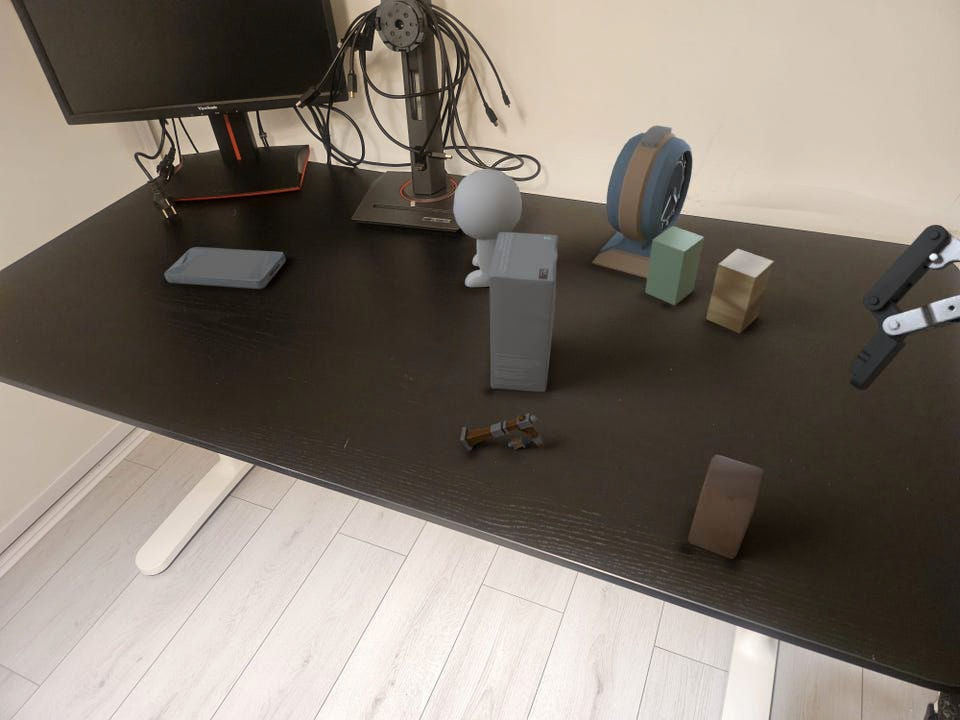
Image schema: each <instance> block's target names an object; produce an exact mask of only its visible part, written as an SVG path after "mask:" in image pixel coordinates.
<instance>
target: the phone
mask: <svg viewBox="0 0 960 720" xmlns="http://www.w3.org/2000/svg"><path fill="white" fill-rule="evenodd" d="M286 261H287V259H286V256H285V254H284V252H283V251H274V250H273V251H272V250H257V249H256V250H255V249H254V250H253V249H238V248H234V249H233V248H220V247H204V246H203V247H201V246H193V247H191V248H189V249H188V250H186V252H185V253H183V255H182V256H180V257H179V259H178V260H177V261H175V262H174V263H173V264H172V265H171V266H170V267H169V268H168V269H167V270H166V271H164V274H163V275H164V277H165V280H166V281H167V283H168V284H169V283H170V284H181V285H182V284H183V285H195V286H196V285H197V286H198V285H199V286H211V287H225V288H239V289H253V290H254V289H255V290H262V289H265V288H266V286H267V285H268V284H269V283H270V282H271V281H272V280H273V278H274V277H275V276H276V274H277V273H278V272H279V270H280V269H281V268H283V266H284V264H285V263H286Z"/></svg>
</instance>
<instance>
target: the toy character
mask: <svg viewBox="0 0 960 720" xmlns="http://www.w3.org/2000/svg"><path fill="white" fill-rule="evenodd" d="M521 195H522V194H521V191H520V187H519V186H518V184H517V183H516V181H515V180H514V179H513V178H512V177H511V176H510V175H508V174H506V173H505V172H503V171H501V170H497V169H492V168H484V169H478V170H477V169H476V170H474V171H473V172H471V173H469V174H468V175H466V176H464V177H463V179H462V180H460V182H459V184H458V186H457V187H456V189H455V191H454V198H453V209H452V212H453V215H454V219H455V222H456V224H457V225H458V227H459V228H460V229H461V231H462V232H463V233H464V234H465V235H467V236H468V237H470V238H472V239H476V254H474V256H473V258H472V265H473V266H475V267H479V269H477V270H474V271H471V272H470V273H469V274H467V276H466V277H465V280H464V285H465V286H466V287H469V288H483V287H484V288H487V287H490V280H489V272H490V267H491V262H492V258H493V253H494V249H495V245H496V241H497V237H498V233H499V232H513V230H514V229H515V227H516V226H517V224H518V223H519V221H521V214H522V211H523V200H522V196H521Z"/></svg>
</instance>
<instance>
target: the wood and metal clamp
mask: <svg viewBox="0 0 960 720" xmlns="http://www.w3.org/2000/svg"><path fill="white" fill-rule="evenodd" d="M517 415H518V416H517V418H514V419H513V420H509V421H507V420H503V422H502V421H500V422H497V423H494V424H491V425H490V426H488V427H485V428H483V427H482V428H477V429H469V428H468V427H467V426H465V427H464V426H462V429H461V436H460V442H461V444H463V446H464V447H465V448H466V449H467V451H468V452H470V451H473V446H475V445H476V444H478V443H480V442H482V441H485V440H487V439H490V438H494V439H495V438H498V437H501V436H505V435H508V434H511V432H513V431H518V432H520V436H517V437H511V440H510V441H508V443H507V446H508V447H509V448H513V449H514V451H516V450H517V449H519V448H522V447H523V449H526V444H528V445H529V444H530V442H532V441H533V442H534V444H536V446H537V447H538V448H540V447H543V446H544V439H543V438H542V436H541V434H540V433H539V431H537V430H536V429H535V428H534V423H536V422H538V421H537V420H538V418H537V416H536V415H534V414H533V415H531V414H530V413H529V412H528V413H526V414H523V413H521V414H517ZM522 433H523V434H526V435H528V436H526V437H525V436H523V434H522ZM529 436H530V437H529Z"/></svg>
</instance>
